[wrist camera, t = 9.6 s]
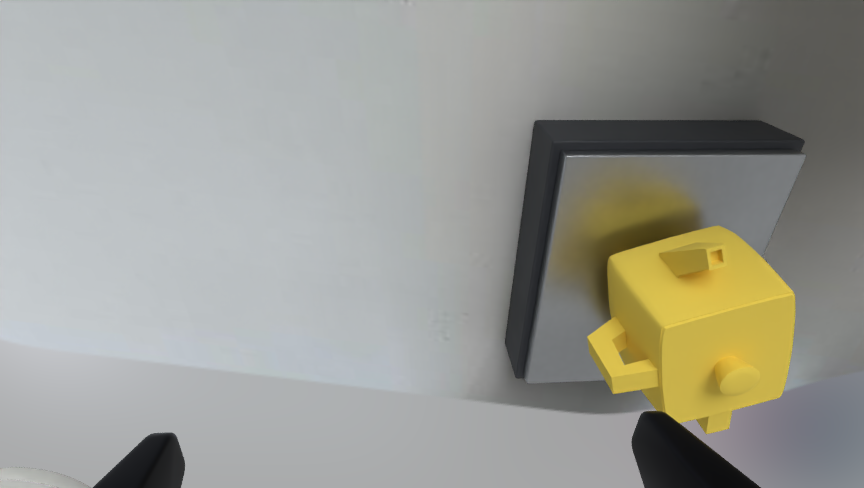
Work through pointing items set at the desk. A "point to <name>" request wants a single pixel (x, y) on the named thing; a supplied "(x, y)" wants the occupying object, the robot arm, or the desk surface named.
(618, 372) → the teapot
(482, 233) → the desk surface
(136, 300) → the desk surface
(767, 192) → the scale
